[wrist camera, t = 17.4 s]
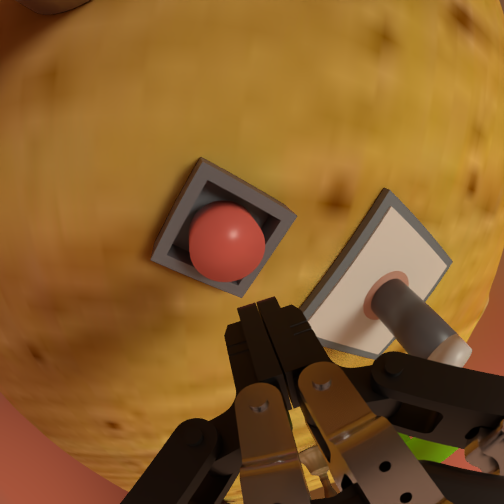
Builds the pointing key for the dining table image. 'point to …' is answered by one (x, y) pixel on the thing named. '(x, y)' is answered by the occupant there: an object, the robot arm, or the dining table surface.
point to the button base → (207, 191)
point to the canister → (418, 325)
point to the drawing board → (373, 277)
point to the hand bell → (317, 468)
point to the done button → (225, 241)
